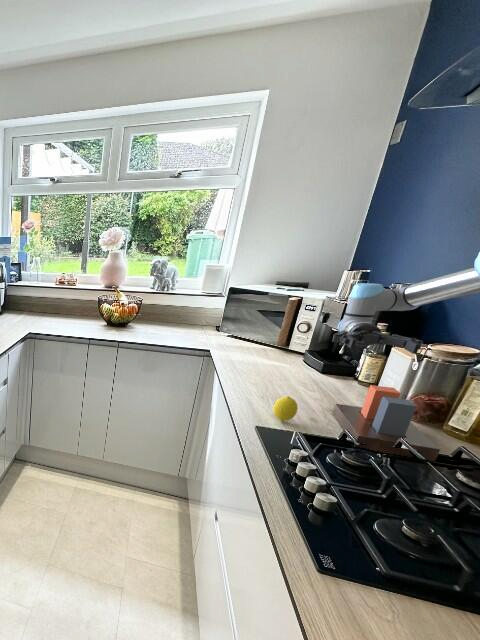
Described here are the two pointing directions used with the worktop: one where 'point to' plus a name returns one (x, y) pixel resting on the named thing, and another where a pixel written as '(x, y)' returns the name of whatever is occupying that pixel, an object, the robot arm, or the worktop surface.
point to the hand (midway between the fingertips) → (384, 346)
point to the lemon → (285, 408)
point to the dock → (379, 442)
